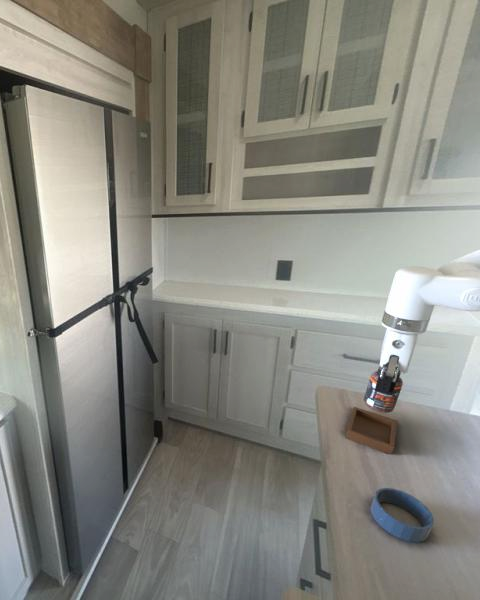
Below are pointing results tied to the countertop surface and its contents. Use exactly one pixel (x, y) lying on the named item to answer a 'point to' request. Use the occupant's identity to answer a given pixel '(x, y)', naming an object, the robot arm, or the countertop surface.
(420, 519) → the ring
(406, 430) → the countertop surface
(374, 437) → the tray
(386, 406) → the supplement bottle
